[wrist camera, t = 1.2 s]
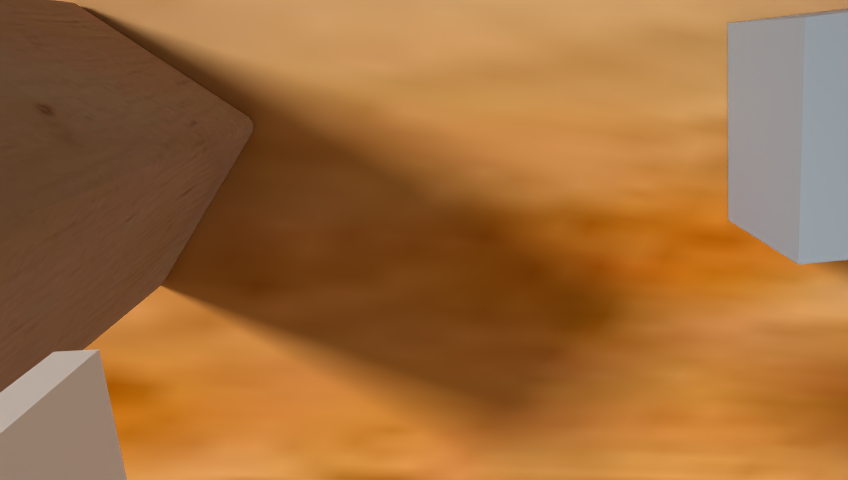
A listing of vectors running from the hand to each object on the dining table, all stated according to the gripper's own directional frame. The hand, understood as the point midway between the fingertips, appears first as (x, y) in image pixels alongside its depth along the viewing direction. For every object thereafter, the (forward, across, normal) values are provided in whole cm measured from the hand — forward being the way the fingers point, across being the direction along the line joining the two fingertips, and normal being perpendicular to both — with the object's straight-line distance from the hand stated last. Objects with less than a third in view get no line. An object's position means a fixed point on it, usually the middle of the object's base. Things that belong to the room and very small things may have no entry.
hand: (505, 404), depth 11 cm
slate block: (+23, +16, +1) cm, 28 cm away
